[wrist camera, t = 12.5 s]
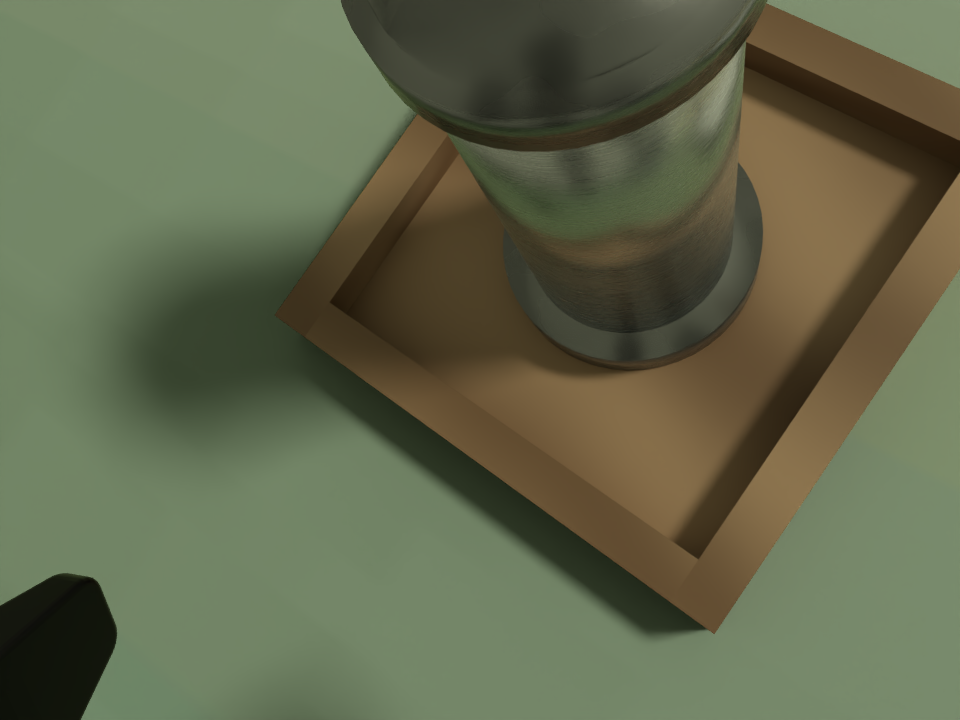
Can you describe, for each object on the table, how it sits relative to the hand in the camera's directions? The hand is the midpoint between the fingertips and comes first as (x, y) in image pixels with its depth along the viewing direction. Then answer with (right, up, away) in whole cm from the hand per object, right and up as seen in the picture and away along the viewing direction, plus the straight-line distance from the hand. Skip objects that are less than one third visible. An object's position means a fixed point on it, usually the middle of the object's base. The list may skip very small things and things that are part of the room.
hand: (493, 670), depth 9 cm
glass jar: (+3, +6, +11) cm, 13 cm away
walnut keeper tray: (+3, +6, +12) cm, 13 cm away
